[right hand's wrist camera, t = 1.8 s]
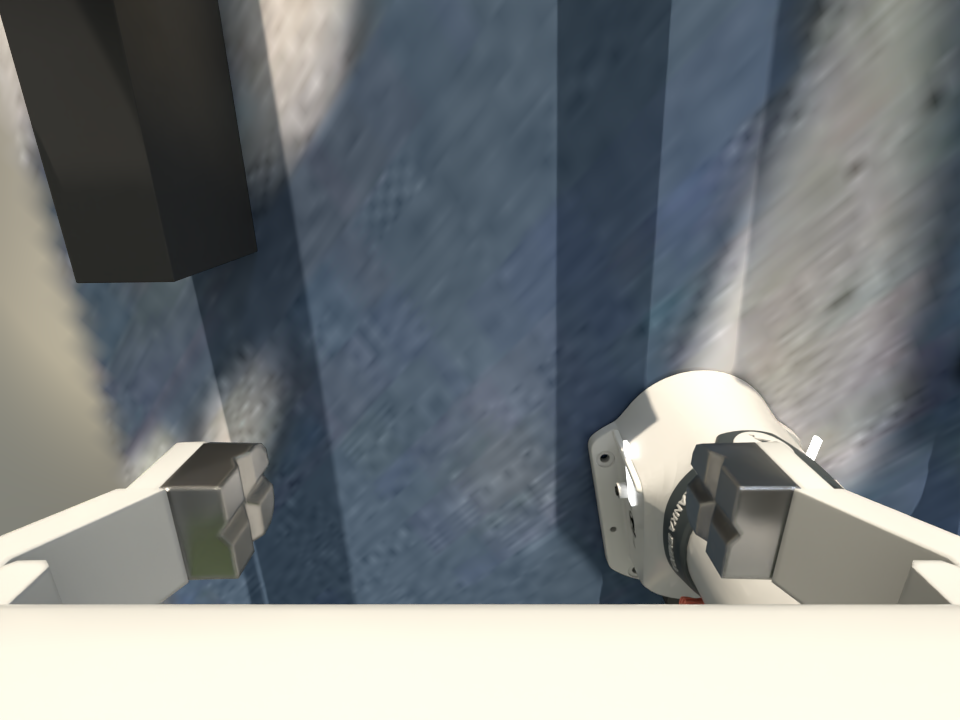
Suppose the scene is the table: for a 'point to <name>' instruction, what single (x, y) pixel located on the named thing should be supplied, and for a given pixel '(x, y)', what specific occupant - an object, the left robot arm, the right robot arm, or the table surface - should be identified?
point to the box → (134, 133)
